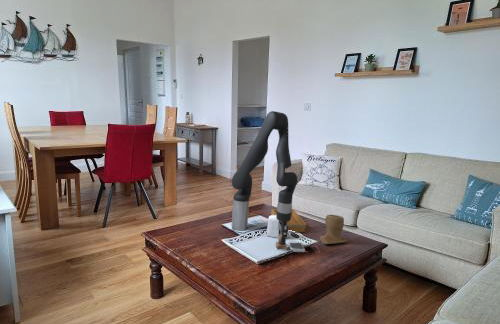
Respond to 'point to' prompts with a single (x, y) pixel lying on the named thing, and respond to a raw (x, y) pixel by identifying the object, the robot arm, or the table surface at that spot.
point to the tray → (294, 222)
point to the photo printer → (273, 226)
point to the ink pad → (296, 247)
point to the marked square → (317, 248)
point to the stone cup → (333, 230)
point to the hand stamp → (279, 245)
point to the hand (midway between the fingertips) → (281, 240)
